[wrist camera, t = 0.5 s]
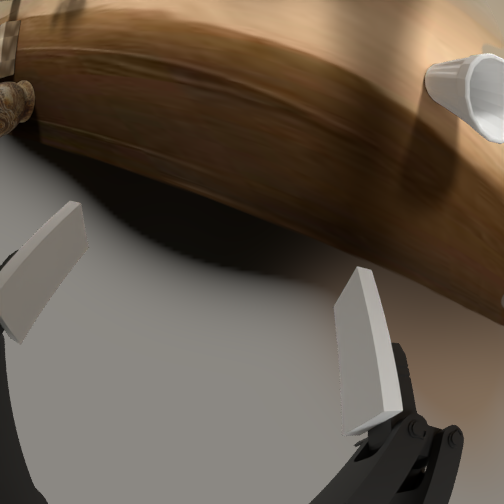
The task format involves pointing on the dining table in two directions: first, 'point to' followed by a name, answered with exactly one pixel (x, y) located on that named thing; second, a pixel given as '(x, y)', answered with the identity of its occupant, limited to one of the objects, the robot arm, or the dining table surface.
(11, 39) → the socket
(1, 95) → the vase
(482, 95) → the cup
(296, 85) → the dining table surface
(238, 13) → the dining table surface
